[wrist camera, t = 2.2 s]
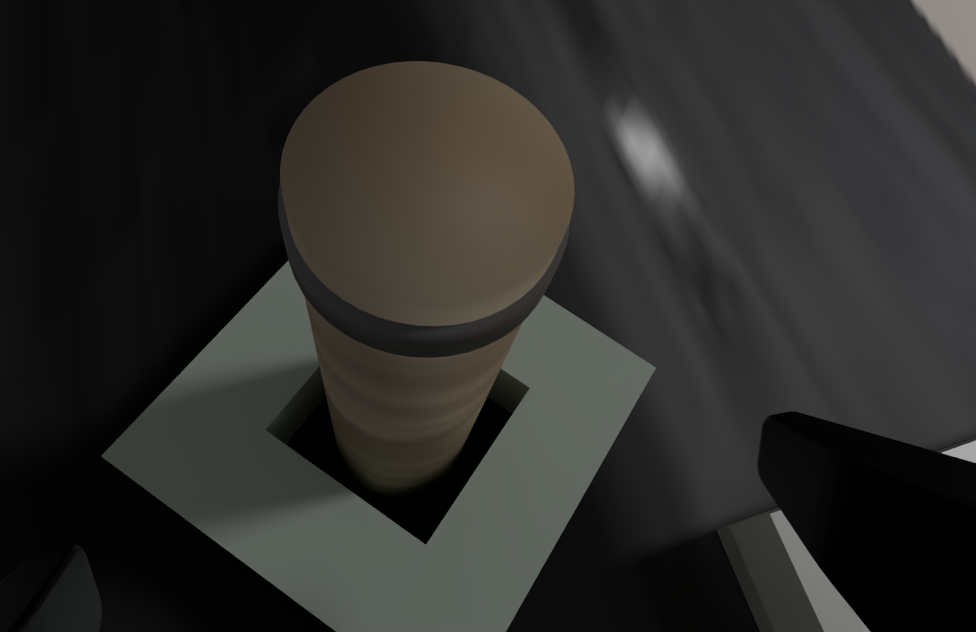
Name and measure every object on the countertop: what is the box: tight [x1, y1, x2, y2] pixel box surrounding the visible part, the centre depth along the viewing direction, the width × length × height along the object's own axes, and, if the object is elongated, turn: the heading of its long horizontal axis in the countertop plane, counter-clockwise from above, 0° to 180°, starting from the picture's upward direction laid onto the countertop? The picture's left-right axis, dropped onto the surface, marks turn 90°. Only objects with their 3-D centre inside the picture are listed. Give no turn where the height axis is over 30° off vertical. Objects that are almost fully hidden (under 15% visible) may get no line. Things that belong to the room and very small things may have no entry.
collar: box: [102, 260, 656, 632], centre depth 18 cm, size 10×10×2 cm
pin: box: [278, 62, 574, 497], centre depth 14 cm, size 4×4×12 cm
